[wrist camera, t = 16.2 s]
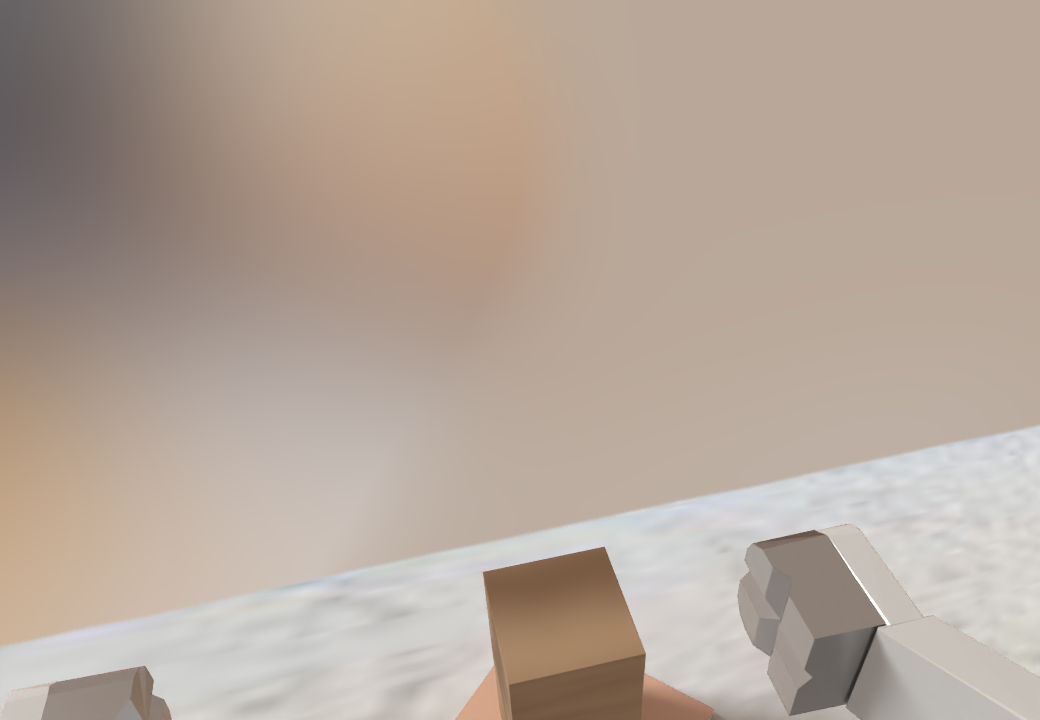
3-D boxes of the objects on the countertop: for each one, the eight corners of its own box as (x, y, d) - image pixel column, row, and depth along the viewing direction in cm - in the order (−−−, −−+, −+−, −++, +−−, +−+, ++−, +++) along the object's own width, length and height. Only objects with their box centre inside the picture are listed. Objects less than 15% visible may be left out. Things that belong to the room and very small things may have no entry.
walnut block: (635, 787, 36) (645, 653, 30) (522, 816, 35) (508, 684, 29) (601, 683, 40) (604, 546, 34) (499, 707, 39) (483, 572, 33)
